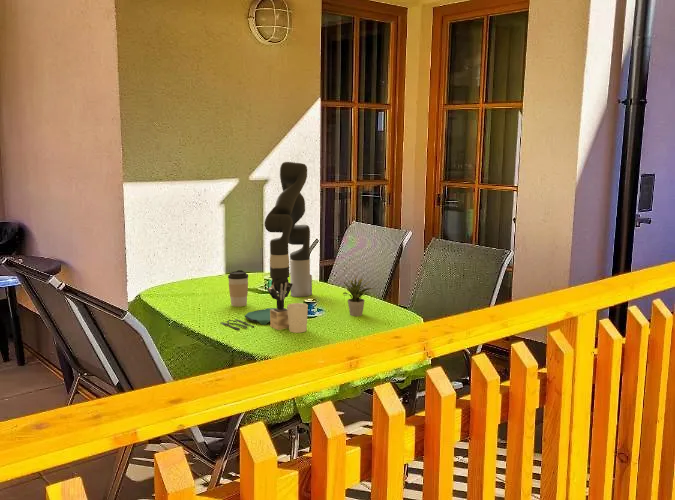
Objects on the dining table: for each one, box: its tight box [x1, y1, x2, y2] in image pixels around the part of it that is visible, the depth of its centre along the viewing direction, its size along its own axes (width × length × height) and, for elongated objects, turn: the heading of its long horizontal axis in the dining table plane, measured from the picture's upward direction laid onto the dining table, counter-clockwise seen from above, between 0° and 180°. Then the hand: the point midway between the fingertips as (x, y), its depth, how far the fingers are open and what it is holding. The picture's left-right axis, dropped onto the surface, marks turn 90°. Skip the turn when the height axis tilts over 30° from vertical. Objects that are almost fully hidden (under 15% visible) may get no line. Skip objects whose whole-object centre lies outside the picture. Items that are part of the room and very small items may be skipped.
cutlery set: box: [220, 307, 276, 331], centre depth 285 cm, size 20×30×2 cm, turn 127°
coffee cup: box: [227, 269, 249, 307], centre depth 310 cm, size 9×9×15 cm
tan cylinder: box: [286, 302, 309, 334], centre depth 269 cm, size 8×8×10 cm
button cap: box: [274, 307, 287, 312], centre depth 274 cm, size 4×4×2 cm
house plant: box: [341, 277, 374, 317], centre depth 291 cm, size 14×14×16 cm
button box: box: [269, 309, 289, 331], centre depth 274 cm, size 6×6×7 cm
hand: (280, 308), depth 274 cm, fingers closed
